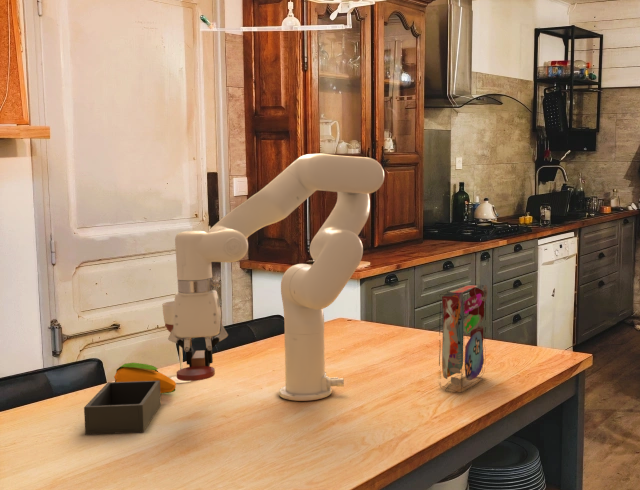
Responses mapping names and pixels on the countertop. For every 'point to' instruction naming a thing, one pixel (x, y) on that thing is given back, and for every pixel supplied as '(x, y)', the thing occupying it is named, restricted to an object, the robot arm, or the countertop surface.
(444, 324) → the box
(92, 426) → the bin
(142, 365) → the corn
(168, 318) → the wineglass
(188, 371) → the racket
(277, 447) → the countertop surface
